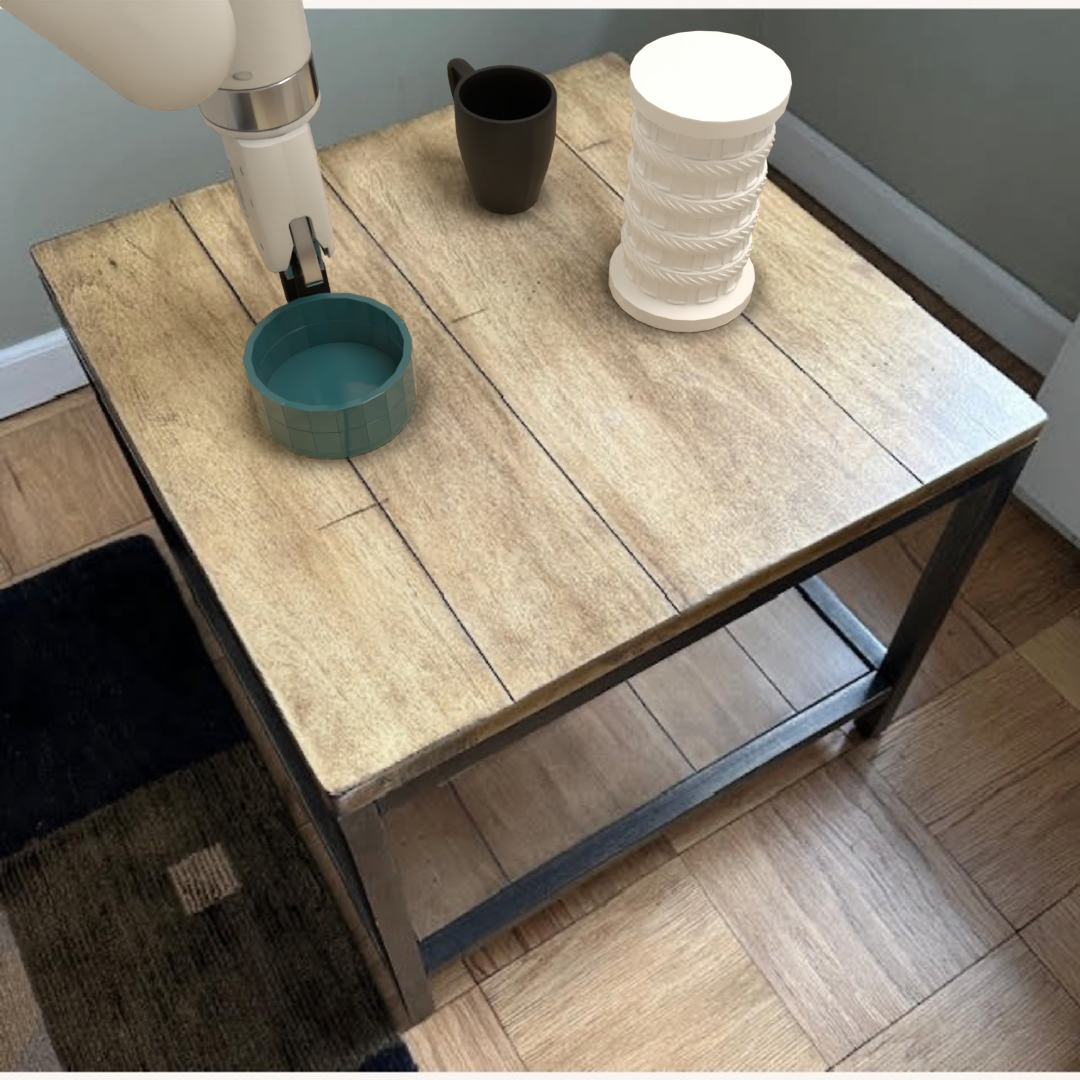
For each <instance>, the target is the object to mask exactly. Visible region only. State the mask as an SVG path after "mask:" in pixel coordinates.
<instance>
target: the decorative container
mask: <svg viewBox="0 0 1080 1080" xmlns="http://www.w3.org/2000/svg"><path fill="white" fill-rule="evenodd" d="M792 85H793V81H792V74H791V70H790V69H789V67H788V66H787V64H786V62H785V60H783V59H782V58H781V57H780V55H778V54H777V53H775V51H774V50H772V49H771V48H770V47H767V46H765V45H764V44H762V43H760V42H758V41H756V40H753V39H750V38H747V37H745V36H741V35H739V34H734V33H728V32H723V31H713V30H712V31H710V30H693V31H683V32H675V33H673V34H672V33H671V34H669V35H667V36H662V37H660V38H657V39H656V40H653V41H651V42H650V43H647V44H645V46H643V47H642V48H641V49H640V50H639V51H638V52H637V53H636V54H635V56H634V57H633V59H632V62H631V63H630V66H629V77H628V96H629V98H630V100H631V103H632V105H633V107H634V109H633V111H632V115H631V117H630V120H629V121H630V122H629V123H630V124H629V125H630V127H629V129H630V135H631V142H632V143H633V144H632V146H631V147H630V150H629V153H628V156H627V161H626V171H627V177H628V181H629V183H628V185H627V187H626V189H625V192H624V194H623V195H624V196H623V209H624V212H625V213H624V215H625V217H626V218H625V219H624V222H623V224H622V227H621V231H620V243H619V244H617V246H616V247H615V248H614V250H613V253H612V255H611V258H610V259H609V266H608V267H609V269H608V287H609V290H610V292H611V295H612V298H613V299H614V301H615V302H616V303H617V304H618V305H619V307H620V308H621V309H622V310H623V311H624V312H625V313H626V314H628V315H629V316H631V318H633V319H635V320H636V321H639V322H641V323H643V324H645V325H648V326H650V327H651V328H656V329H660V330H664V331H668V332H674V333H677V332H678V333H695V332H704V331H710V330H713V329H716V328H719V327H721V326H724V325H726V324H728V323H730V322H732V321H734V319H736V318H738V317H739V316H740V315H741V314H742V313H743V312H744V310H745V309H746V308H747V306H748V305H749V304H750V300H751V297H752V294H753V292H754V286H755V282H756V274H755V266H754V264H753V262H752V260H751V258H750V257H751V252H752V251H753V248H752V246H753V244H754V241H753V239H754V237H753V231H754V229H755V227H756V224H757V223H758V218H759V217H760V213H759V212H760V211H761V207H760V206H761V203H760V196H761V194H762V191H763V188H764V187H765V186H766V183H765V181H767V180H768V177H767V175H768V173H769V171H768V160H767V158H768V157H769V156H770V153H771V150H772V148H773V146H774V144H773V142H775V141H776V138H775V135H776V134H777V132H776V129H777V128H776V126H777V125H776V122H777V121H779V119H780V118H781V117H782V116H783V115H784V114H785V112H786V108H787V106H788V103H789V100H790V95H791V90H792Z"/></svg>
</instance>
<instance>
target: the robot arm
mask: <svg viewBox="0 0 1080 1080" xmlns="http://www.w3.org/2000/svg"><path fill="white" fill-rule="evenodd" d="M0 8H1V9H3V10H4V11H6V13H8V14H10V15H11V16H13V18H15V19H16V20H18V21H20V22H21V23H22V24H23V25H24V26H26V27H28V28H29V29H30V30H32V31H33V32H35V33H36V34H38V35H39V36H40V37H41V38H43V39H44V40H46V41H47V42H48V43H49V44H51V45H52V46H54V47H55V48H56V49H58V50H59V51H61V52H62V53H63V54H65V55H67V56H68V57H69V58H70V59H72V60H73V61H74V62H75V63H77V64H78V65H80V66H81V67H82V68H84V69H85V70H86V71H87V72H89V73H91V74H92V75H93V76H94V77H96V78H97V79H99V80H100V81H101V82H103V83H104V84H106V85H107V86H108V87H109V88H111V89H112V90H113V91H115V93H117V94H118V95H119V96H121V97H122V98H123V99H125V100H127V101H128V102H130V103H132V104H134V105H136V106H138V107H142V108H145V109H149V110H152V111H158V112H159V111H160V112H176V111H177V112H179V111H183V110H186V109H190V108H193V107H195V106H198V110H199V112H200V115H201V118H202V120H203V122H204V123H205V125H206V126H207V127H209V128H210V129H211V130H213V131H214V132H215V133H218V134H220V136H221V139H222V144H223V147H224V152H225V155H226V158H227V163H228V166H229V171H230V174H231V179H232V182H233V187H234V191H235V195H236V199H237V202H238V205H239V208H240V210H241V213H242V215H243V218H244V220H245V223H246V225H247V227H248V230H249V233H250V235H251V237H252V239H253V243H254V244H255V247H256V249H257V252H258V254H259V256H260V259H261V261H262V263H263V264H264V267H265V268H266V270H268V272H271V273H273V274H278V275H279V279H280V282H281V283H280V284H281V286H282V287H281V288H282V290H283V293H284V294H283V295H284V297H285V301H286V304H287V303H289V302H291V301H293V300H295V299H298V298H302V297H306V296H311V295H315V294H320V293H332V291H331V287H330V281H329V277H328V273H327V269H326V264H325V261H324V260H323V256H322V254H323V255H324V257H326V256H327V257H328V259H331V258H332V257H333V255H334V253H335V251H336V243H335V236H334V229H333V225H332V219H331V214H330V209H329V205H328V199H327V194H326V189H325V185H324V180H323V176H322V172H321V167H320V163H319V159H318V151H317V149H316V145H315V141H314V137H313V133H312V128H311V124H310V120H312V119H313V117H314V116H315V115H316V113H317V112H318V110H319V108H320V106H321V101H322V95H321V89H320V86H319V85H320V84H319V80H318V74H317V70H316V69H317V68H316V64H315V59H314V55H313V49H312V44H311V39H310V33H309V28H308V23H307V18H306V13H305V7H304V1H303V0H0Z"/></svg>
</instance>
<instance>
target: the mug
mask: <svg viewBox="0 0 1080 1080" xmlns="http://www.w3.org/2000/svg"><path fill="white" fill-rule="evenodd" d="M446 65H447V66H446V71H447V79H448V85H449V88H450V93H451V96H452V101H453V108H454V109H453V110H454V125H455V134H456V135H455V136H456V140H457V146H458V149H459V153H460V157H461V161H462V165H463V166H464V169H465V173H466V175H467V178H468V180H469V181H468V182H469V183H470V186H471V188H472V191H473V194H474V197H475V200H476V201H477V203H478V204H479V205H480V206H481V207H483V208H484V209H485V210H487V211H490V212H493V213H496V214H507V215H508V214H517V213H521V212H524V211H527V210H528V209H530V208H532V207H533V206H534V205H535V204H536V203H537V201H538V199H539V197H540V193H541V190H542V187H543V184H544V182H545V178H546V175H547V173H548V170H549V166H550V164H551V163H550V162H551V159H552V155H553V152H554V147H555V140H556V135H557V111H558V92H557V89H556V87H555V85H554V83H553V82H552V81H551V79H550V78H549V77H548V76H546V75H545V74H543V73H542V72H539V71H538V70H535V69H532V68H530V67H526V66H521V65H513V64H498V65H496V64H495V65H490V66H486V67H481V68H478V69H475V68H474V67H473V66H472V64H470V63H469V62H468V61H467V60H465V59H464V58H461V57H454V58H452V59H450V60H449V61H448V62H447V64H446Z"/></svg>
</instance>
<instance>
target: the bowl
mask: <svg viewBox="0 0 1080 1080" xmlns="http://www.w3.org/2000/svg"><path fill="white" fill-rule="evenodd" d="M413 343H414V342H413V337H412V335H411V333H410V331H409V329H408V326H407V323H406V322H405V320H404V319H403V318H402V317H401V316H400V315H399V314H398V313H397V312H396V311H395V310H394V309H393V308H392V307H390V306H388V305H386V304H384V303H383V302H381V301H378V300H376V299H374V298H373V297H370V296H367V295H366V296H365V295H362V294H356V293H352V292H331V293H320V294H315V295H311V296H306V297H302V298H298V299H295V300H293V301H291V302H289V303H287V302H286V303H285V304H283V305H280V306H278V307H276V308H275V309H273V310H272V311H271V312H269V313H268V314H267V315H265V317H264V318H262V319H261V320H260V321H259V322H258V323H257V324H256V325H255V327H254V328H253V330H252V332H251V333H250V335H249V336H248V337H247V339H246V341H245V344H244V350H243V357H242V363H243V367H244V370H245V374H246V377H247V380H248V384H249V389H250V391H251V394H252V398H253V401H254V404H255V408H256V412H257V415H258V418H259V421H260V423H261V425H262V427H263V429H264V430H265V432H266V433H267V434H268V436H269V437H270V438H272V439H273V441H275V442H276V443H277V444H279V445H280V446H281V447H283V448H285V449H286V450H288V451H290V452H293V453H294V454H298V455H301V456H305V457H308V458H313V459H321V460H322V459H324V460H337V459H338V460H339V459H345V458H352V457H357V456H360V455H364V454H366V453H369V452H372V451H375V450H376V449H378V448H380V447H382V446H384V445H386V444H387V443H389V442H390V441H392V440H393V439H394V438H396V437H397V435H399V434H400V433H401V432H402V431H403V429H405V427H406V426H407V425H408V423H409V422H410V420H411V419H412V417H413V415H414V413H415V410H416V407H417V403H418V378H417V370H416V362H415V352H414V344H413Z"/></svg>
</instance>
